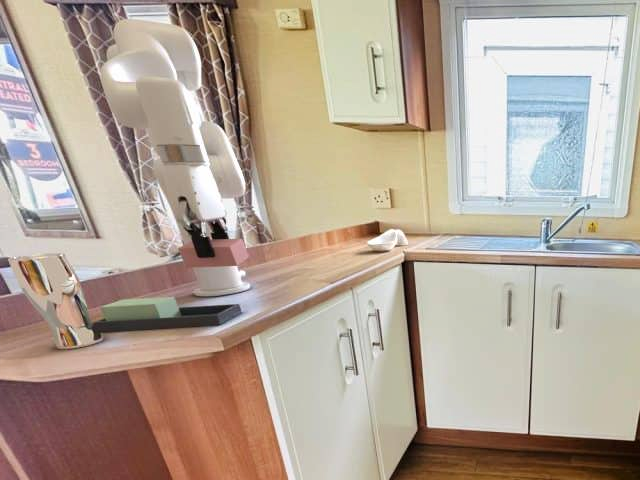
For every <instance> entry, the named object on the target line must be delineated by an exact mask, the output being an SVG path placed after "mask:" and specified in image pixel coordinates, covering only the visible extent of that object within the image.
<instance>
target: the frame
mask: <svg viewBox="0 0 640 480" xmlns="http://www.w3.org/2000/svg"><path fill="white" fill-rule="evenodd" d="M178 308H179V310H180V313H181V316H179V317H166V318H149V319H132V320H115V321H106V319H105V317H104V318H101V319H98V320H96V321H92V323H93V325H94V326H95V328H96V329H97V330H98V332H99V333H112V332H113V333H114V332H128V331H129V332H131V331H145V330H161V329H178V328H180V329H181V328H194V327H195V328H196V327H197V328H198V327H209V326H210V327H212V326H213V327H214V326H221V325H223V324H225V323H227V322H229V321H230V320H232V319H234V318H236V317H238V316H239V315H241V314H243V311H242V308H241V306H240V304H239V303H230V304H215V305H198V306H195V305H194V306H178Z"/></svg>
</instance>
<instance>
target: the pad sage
mask: <svg viewBox="0 0 640 480" xmlns="http://www.w3.org/2000/svg"><path fill="white" fill-rule="evenodd" d="M178 307H179V305H178V303H177V300H176V298H175V296H163V297H161V296H159V297H144V298H127V299H126V298H125V299H120V300H117V301H114V302H111V303H108V304H105V305H102V306H99V309H100V311H101V313H102V315H103V317H104V318H105V319H106V321H115V320H132V319H149V318H166V317H179V316H181V313H180V310H179V308H178Z"/></svg>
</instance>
